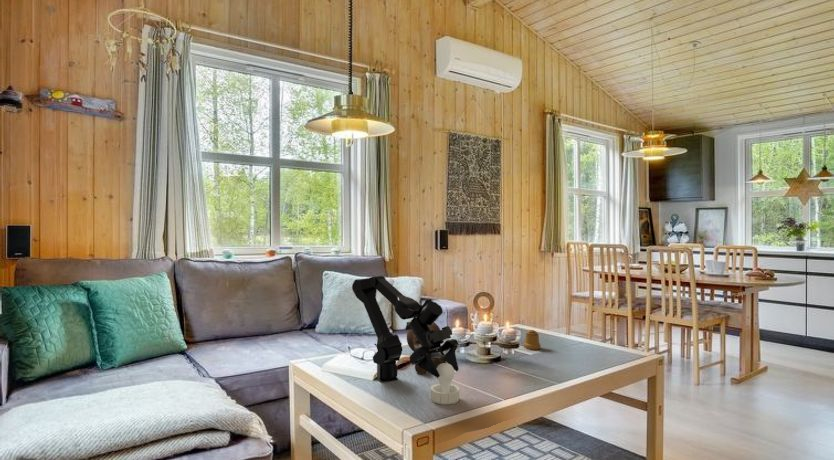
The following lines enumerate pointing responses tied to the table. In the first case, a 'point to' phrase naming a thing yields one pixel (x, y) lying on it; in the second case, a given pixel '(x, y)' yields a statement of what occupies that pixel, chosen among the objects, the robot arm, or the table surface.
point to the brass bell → (532, 340)
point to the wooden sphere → (412, 339)
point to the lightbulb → (445, 376)
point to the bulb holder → (444, 395)
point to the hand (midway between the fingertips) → (448, 373)
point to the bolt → (435, 360)
